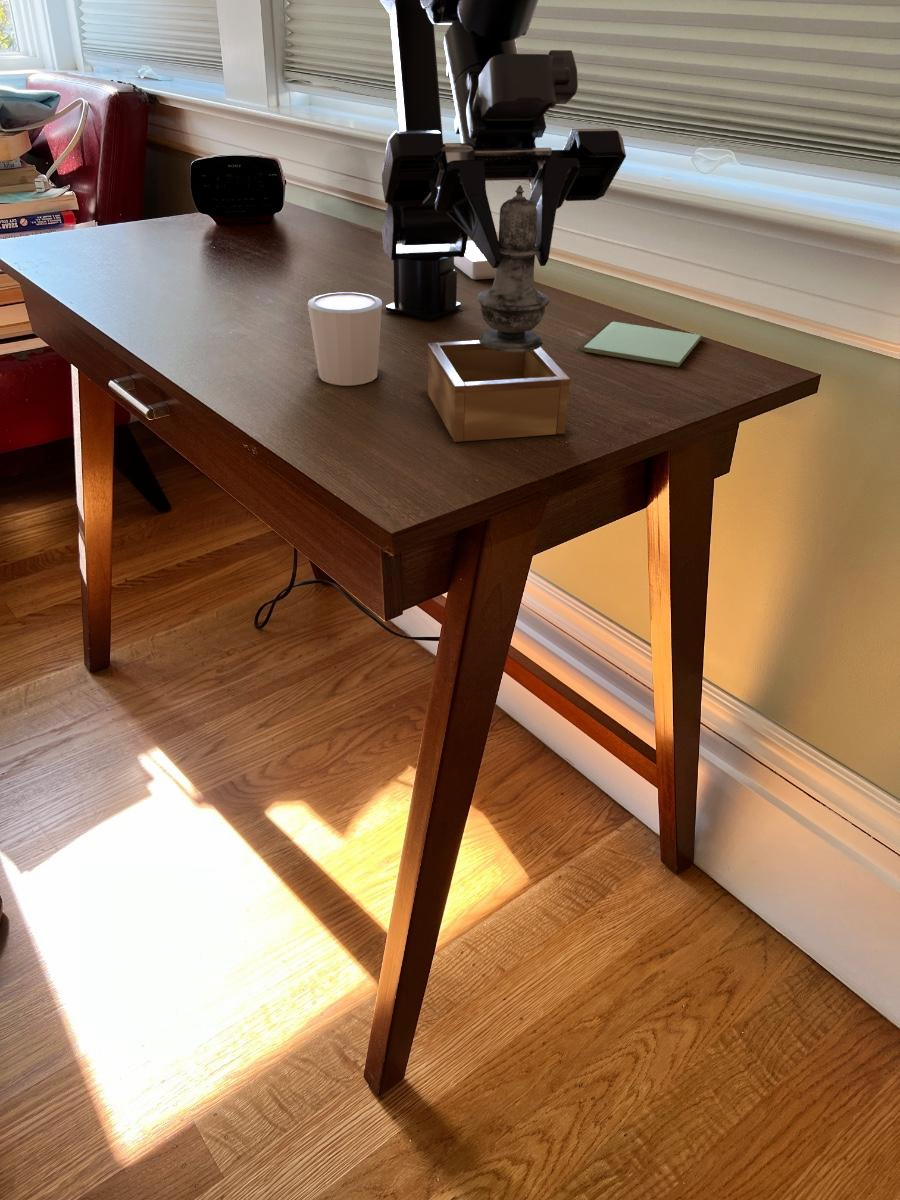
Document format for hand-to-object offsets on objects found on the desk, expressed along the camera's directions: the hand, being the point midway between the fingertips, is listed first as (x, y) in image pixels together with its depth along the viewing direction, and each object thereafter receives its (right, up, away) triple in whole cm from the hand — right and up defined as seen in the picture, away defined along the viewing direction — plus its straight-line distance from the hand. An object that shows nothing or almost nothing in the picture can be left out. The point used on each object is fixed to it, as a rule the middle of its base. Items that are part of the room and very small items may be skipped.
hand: (520, 264), depth 70 cm
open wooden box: (-2, -10, +9) cm, 14 cm away
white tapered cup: (-15, -5, +17) cm, 23 cm away
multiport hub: (-2, +18, +51) cm, 54 cm away
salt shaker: (-1, -5, +5) cm, 7 cm away
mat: (+15, +1, +26) cm, 30 cm away
